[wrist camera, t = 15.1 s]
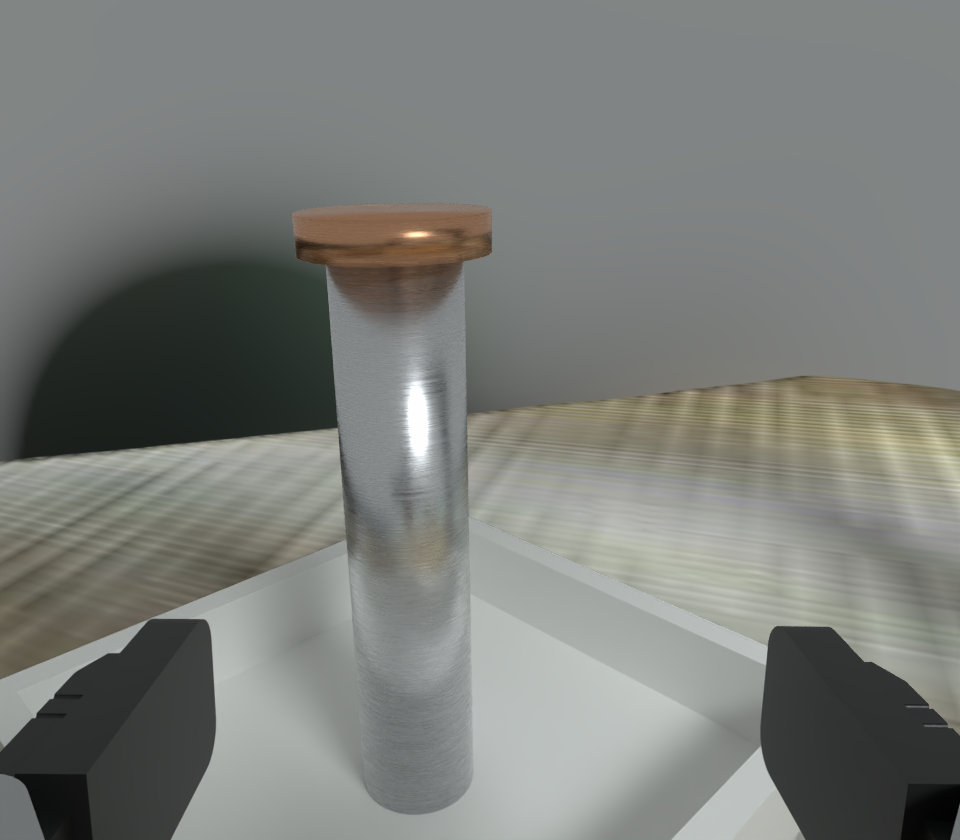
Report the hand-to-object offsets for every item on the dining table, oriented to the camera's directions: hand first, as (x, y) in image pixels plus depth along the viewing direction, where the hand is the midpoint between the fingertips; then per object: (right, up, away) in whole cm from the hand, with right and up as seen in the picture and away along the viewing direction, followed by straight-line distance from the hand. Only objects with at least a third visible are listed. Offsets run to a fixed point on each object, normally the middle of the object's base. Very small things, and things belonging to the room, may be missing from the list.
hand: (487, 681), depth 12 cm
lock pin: (-2, -7, +14) cm, 16 cm away
